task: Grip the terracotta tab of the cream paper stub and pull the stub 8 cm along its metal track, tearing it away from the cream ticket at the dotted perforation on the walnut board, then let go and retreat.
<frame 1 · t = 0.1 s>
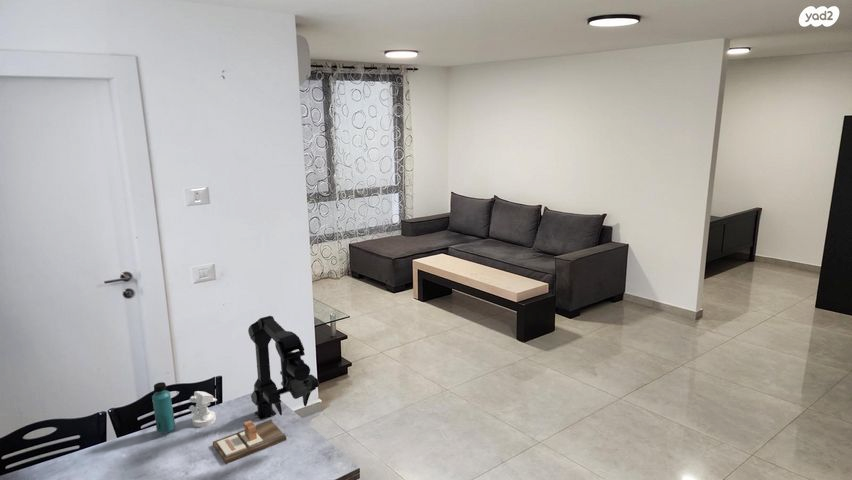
hand: (293, 410, 188), 15 cm above the table, fingers open, 9 cm apart
character figurine: (205, 420, 210), on the table
stub: (250, 431, 194), point 4 cm above the table, slide at 0.0 cm
beverage bottle: (166, 432, 202), on the table
ticket board: (247, 443, 194), on the table
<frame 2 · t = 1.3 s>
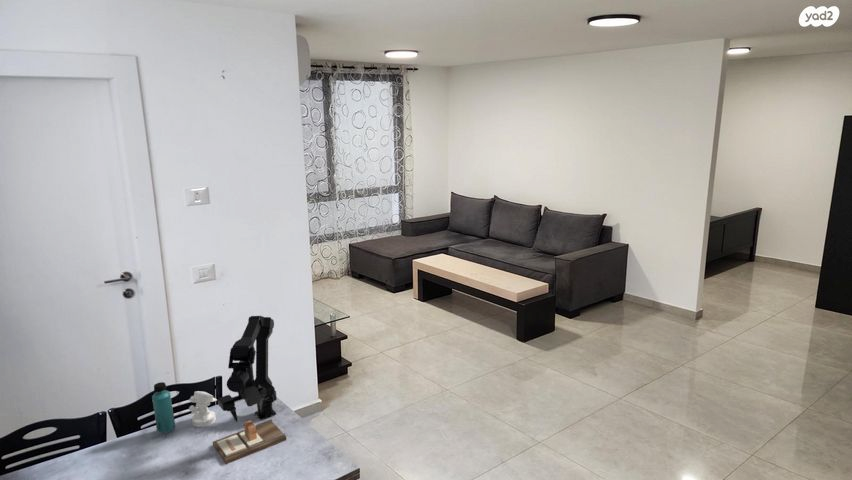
hand: (249, 417, 193), 10 cm above the table, fingers open, 9 cm apart
nothing on the table moved.
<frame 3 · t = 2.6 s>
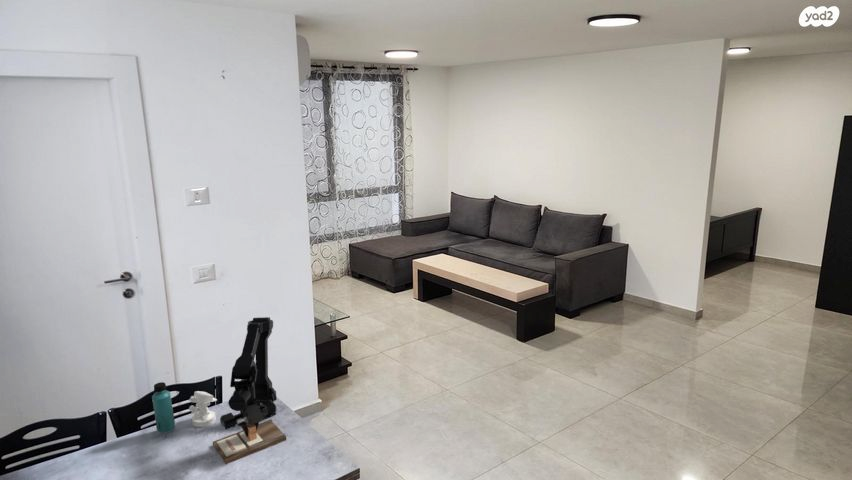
hand: (250, 434, 194), 3 cm above the table, fingers closed on stub, 2 cm apart
stub: (250, 431, 194), point 4 cm above the table, slide at 0.0 cm, touching gripper
everything else where it was.
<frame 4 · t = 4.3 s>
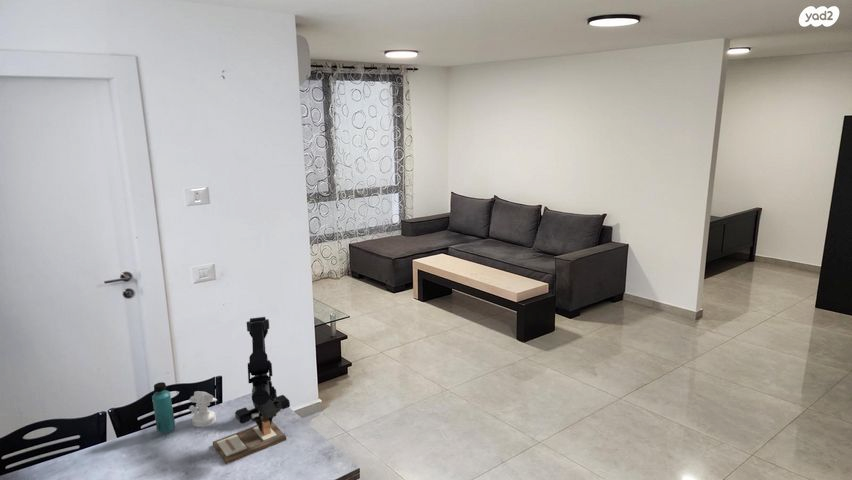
hand: (264, 429, 198), 3 cm above the table, fingers closed on stub, 2 cm apart
stub: (264, 426, 197), point 4 cm above the table, slide at 5.3 cm, touching gripper
everything else where it was.
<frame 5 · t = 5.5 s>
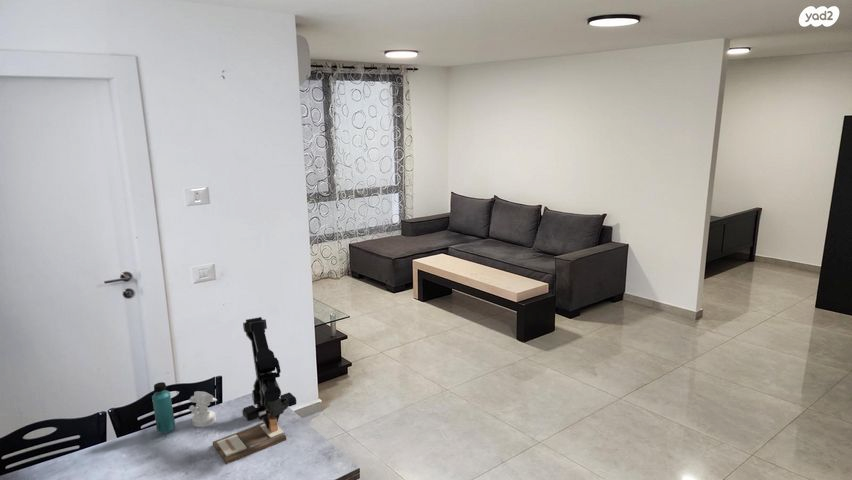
hand: (271, 426, 199), 3 cm above the table, fingers closed on stub, 2 cm apart
stub: (271, 423, 199), point 4 cm above the table, slide at 7.9 cm, touching gripper
everything else where it was.
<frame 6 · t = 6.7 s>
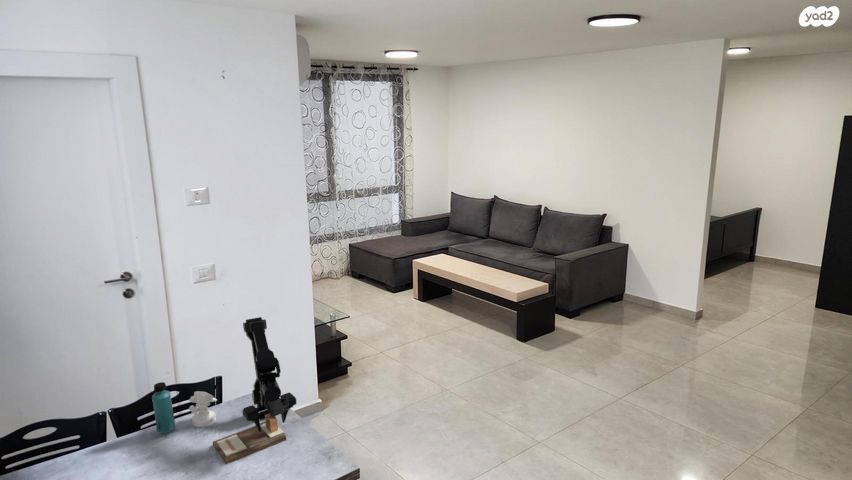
hand: (271, 426, 199), 3 cm above the table, fingers open, 9 cm apart
stub: (271, 423, 199), point 4 cm above the table, slide at 8.0 cm
everything else where it was.
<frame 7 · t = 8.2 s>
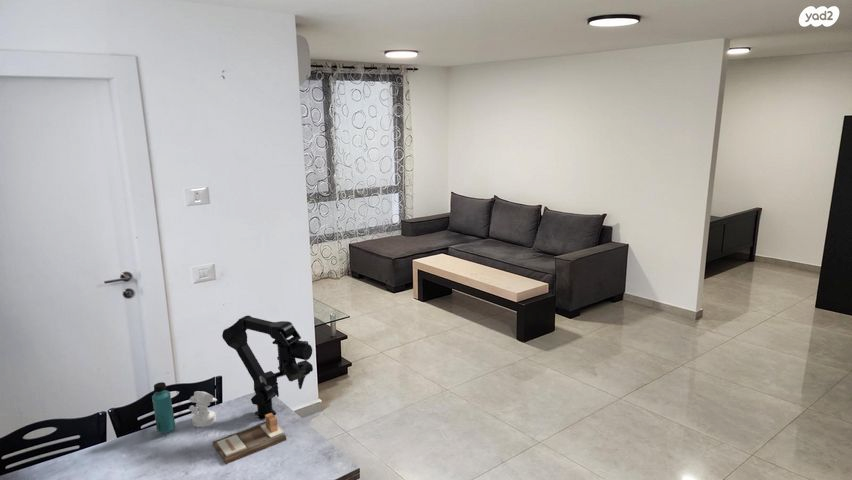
hand: (289, 392, 206), 12 cm above the table, fingers open, 9 cm apart
nothing on the table moved.
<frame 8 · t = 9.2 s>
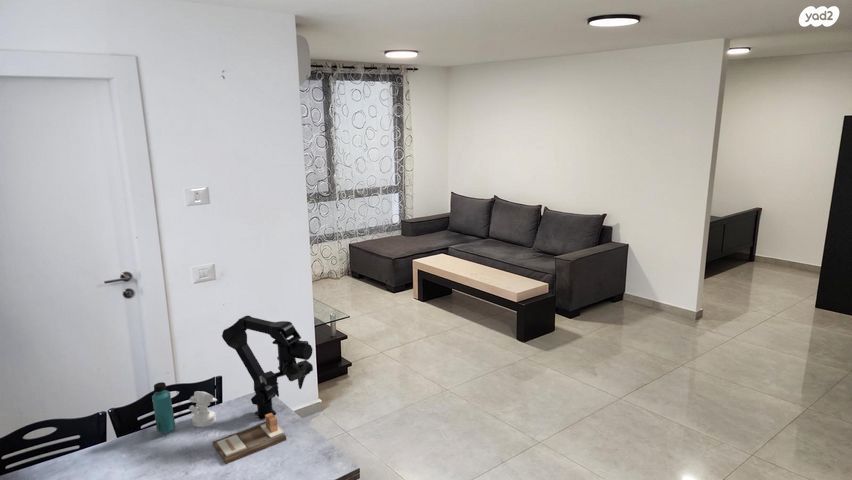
hand: (289, 392, 206), 12 cm above the table, fingers open, 9 cm apart
nothing on the table moved.
at the end: stub slide at 8.0 cm; the gripper is holding nothing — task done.
